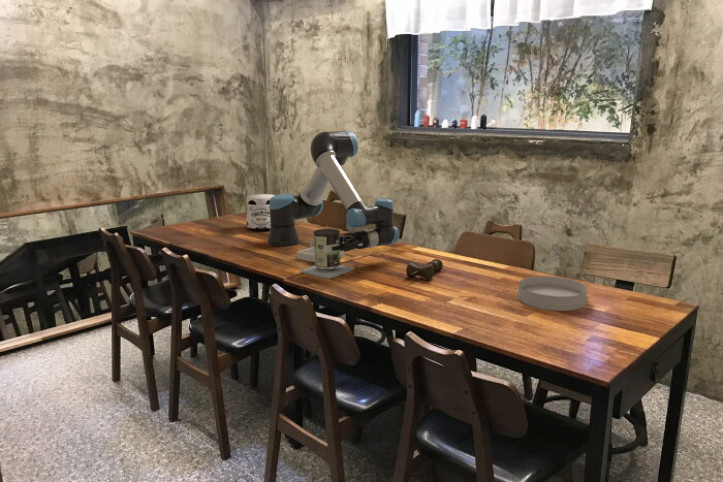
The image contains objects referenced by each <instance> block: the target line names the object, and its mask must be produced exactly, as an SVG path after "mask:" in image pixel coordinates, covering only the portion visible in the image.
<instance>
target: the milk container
mask: <svg viewBox="0 0 723 482" xmlns="http://www.w3.org/2000/svg"><path fill="white" fill-rule="evenodd" d="M273 196H275V195H274V194H270V193H263V194H262V193H258V194H250V195H247V196H246V210H247V212H246V213H247V214H246V218H245V221H246V226H247V228H248V229H250V230H253V231H268V230H269V231H270V229H271V223H270V208H269V205H270V199H271V198H272V197H273Z"/></svg>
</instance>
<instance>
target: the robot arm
mask: <svg viewBox="0 0 723 482" xmlns="http://www.w3.org/2000/svg"><path fill="white" fill-rule="evenodd" d="M309 149H310V155H311V159H312V160H313V162H314V164H315V165H316V169H315V171H314V172H313V173H312V176H311V177H310V180H309V181H308V183H307V185H306V187H302V188H301V189H300V191H299V193H298V194H297V195H294V194H293V193H280V194H276V195H275V196H273V197H272V198H271V199H270V205H269V208H270V223H271V229H269V235H268V237H267V244H268V245H269V246H272V247H290V246H294V245H297V244H299V243H300V237H299V236H298V232H297V229H296V224H295V223H296V222H295V221H296V220H303V219H309V218H314V217H316V216H319V215H320V214H321V213H322V211H323V209H324V208H323V207H324V206H323V205H324V201H323V195H324V193H325V191H326V189H327V187H329V184H330V185H331V187H332V188H333V190H334V192H335V194H336V195H337V198H338V199H339V200H340V201H341V204H342V205H343V207H344V208H345V210H346V211H347V212H346V213H345V214H346V215H345V219H346V224H347V223H348V225H349V226H351V227H363V226H364V227H366V226H369V225H375V228H370V229H367V230H364V231H363V230H362V231H356V232H355V233H354V234H352V235H346V234H343V235H339V239H340V246H339V244H332V245H326V246H323V249H324V253H328V252H334V251H339V250H340V251H343V250H344V253H346V252H349V251H352V250H356V249H357V250H365V249H373V248H375V247H376V248H377V247H382V246H389V245H393V244H396V243H397V242H398V241H399V238H400V233H399V229H398V228H397V227H396V226H394V201H393V200H392V199H390V198H378V199H375V201H374V205H369V206H366V204H365V203H364V202H363V200H362V199H361V196H360V195H359V193H358V192H357V191H356V188H355V187H354V185H353V184H352V182H351V180H350V179H349V176H347V174H346V172H345V171H344V169H343V168H342V166H344V165H345V164H346V162H347V161H348V159H349V158H354V157H355V156H356V155H358V151H359V141H358V138H357V136H356V135H355V134H354V133H353V132H352V131H350V130H336V131H335V130H334V131H321V132H319V133H318V134H316V135H315V136H314V137H313V138H312V140H311V142H310V148H309ZM312 247H314V239H313V240H310V248H312Z"/></svg>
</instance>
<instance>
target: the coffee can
mask: <svg viewBox="0 0 723 482" xmlns="http://www.w3.org/2000/svg"><path fill="white" fill-rule="evenodd" d="M340 233H341V231H340V230H339V229H336V228H320V229H316V230H313V240H314V251H315V254H314V255H315V262H314V266H315V267H316V268H320V269H334V268H337V267H339V266H340V265H341V258H340V250H339V251H334V252H328V253H324V249H323V246H326V245H332V244H339V246H340V239H339V236H340Z"/></svg>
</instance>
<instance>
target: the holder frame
mask: <svg viewBox="0 0 723 482" xmlns="http://www.w3.org/2000/svg"><path fill="white" fill-rule="evenodd" d="M344 257H345V252H344V250H343V251H340V259H341V258H344ZM296 259H298V260H302V261H308V262H310V263H311V262H313V263H315V251H314V247H309V248H306V249H302V250H299V251H296Z"/></svg>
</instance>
